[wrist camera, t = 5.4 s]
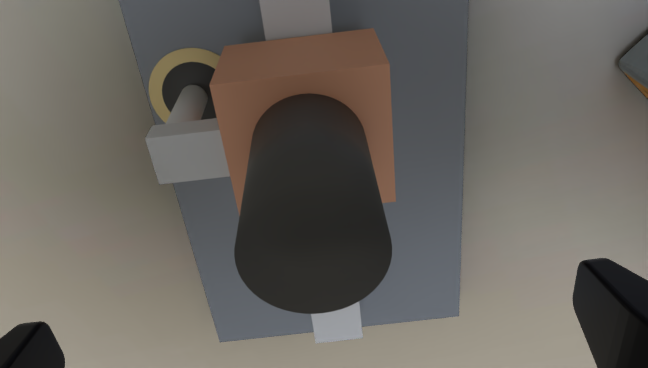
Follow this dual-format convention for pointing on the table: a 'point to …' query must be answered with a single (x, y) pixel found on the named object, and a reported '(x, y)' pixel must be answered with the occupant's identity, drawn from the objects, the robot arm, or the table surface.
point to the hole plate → (408, 143)
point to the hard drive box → (637, 65)
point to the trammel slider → (295, 163)
